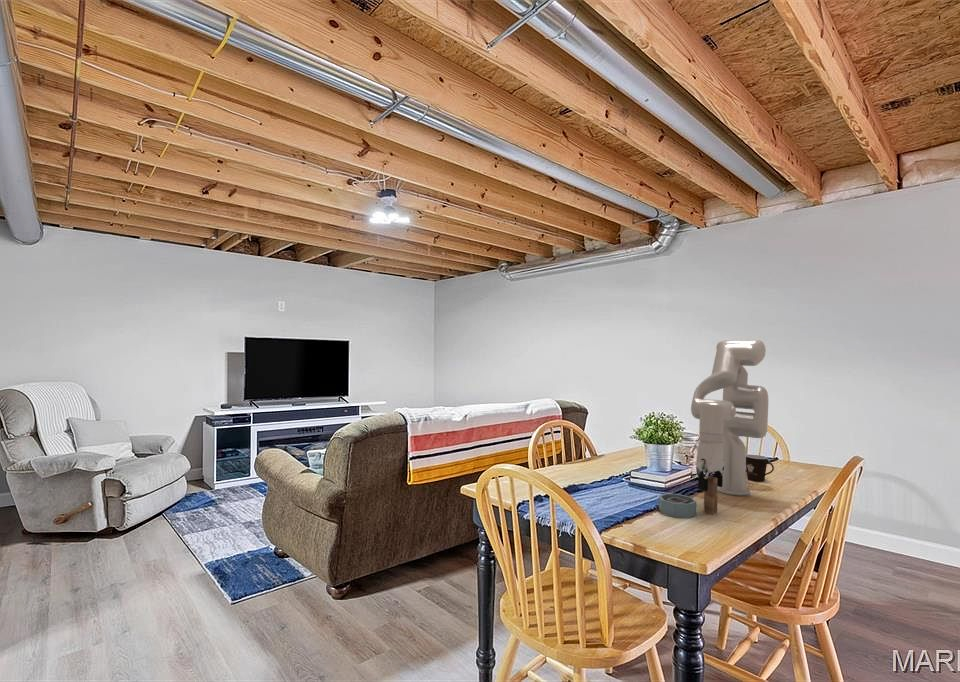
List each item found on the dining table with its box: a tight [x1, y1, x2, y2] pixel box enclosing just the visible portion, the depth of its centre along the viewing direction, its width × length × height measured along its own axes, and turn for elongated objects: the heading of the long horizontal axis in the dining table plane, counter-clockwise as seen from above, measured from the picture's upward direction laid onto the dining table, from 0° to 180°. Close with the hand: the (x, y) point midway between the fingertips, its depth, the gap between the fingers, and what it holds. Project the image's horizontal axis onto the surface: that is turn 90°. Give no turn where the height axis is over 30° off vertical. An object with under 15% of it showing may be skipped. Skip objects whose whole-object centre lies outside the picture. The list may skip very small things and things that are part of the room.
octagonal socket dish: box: [658, 493, 697, 519], centre depth 167 cm, size 11×11×4 cm
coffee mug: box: [746, 454, 775, 483], centre depth 209 cm, size 12×9×10 cm
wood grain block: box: [703, 475, 718, 515], centre depth 167 cm, size 3×3×12 cm
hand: (710, 488), depth 167 cm, fingers open, 9 cm apart
